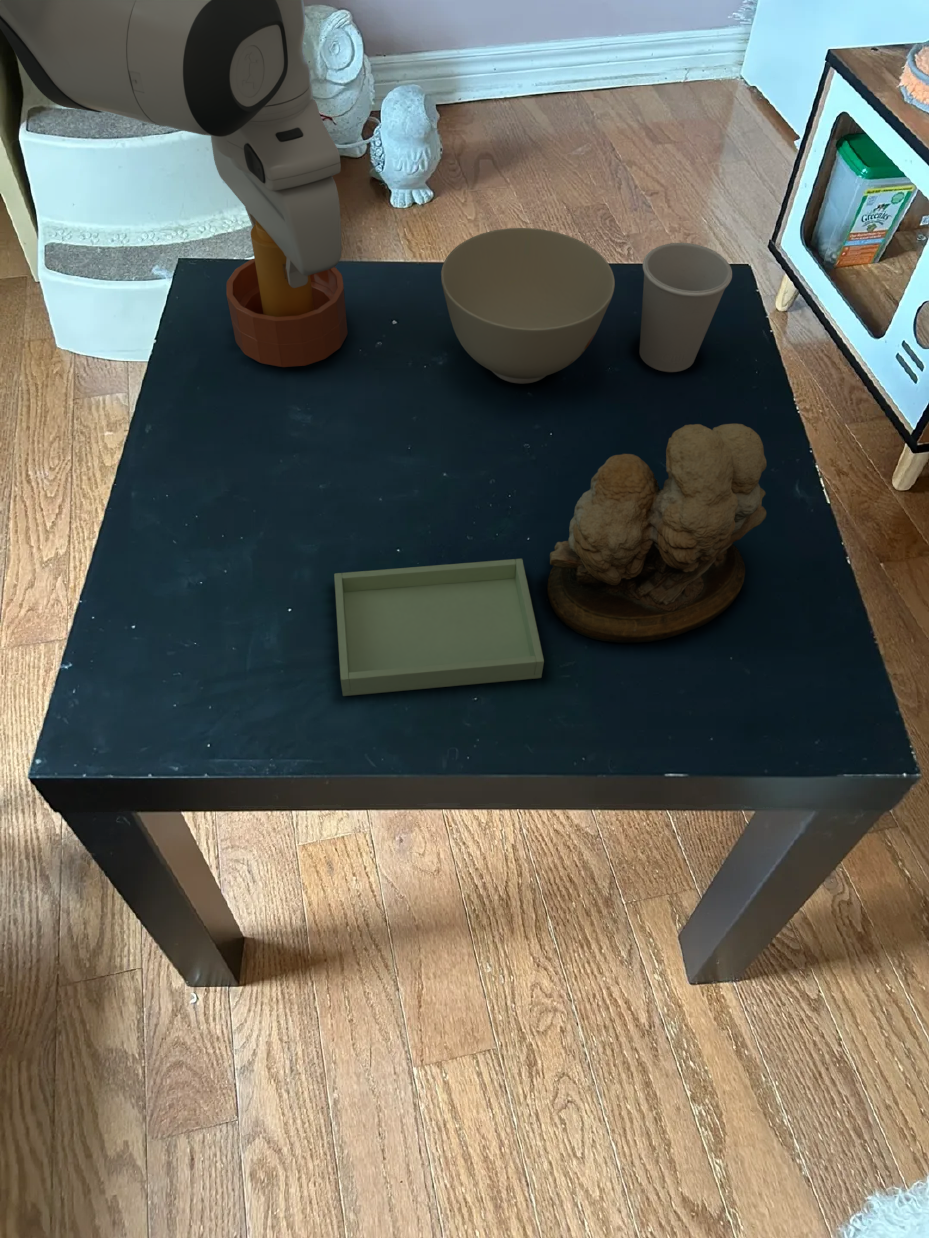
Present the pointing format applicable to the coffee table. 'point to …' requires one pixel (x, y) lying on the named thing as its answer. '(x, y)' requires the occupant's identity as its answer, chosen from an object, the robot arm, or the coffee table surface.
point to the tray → (435, 627)
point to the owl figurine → (660, 538)
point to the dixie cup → (679, 302)
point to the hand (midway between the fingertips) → (282, 265)
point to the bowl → (526, 300)
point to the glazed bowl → (287, 320)
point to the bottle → (277, 279)
